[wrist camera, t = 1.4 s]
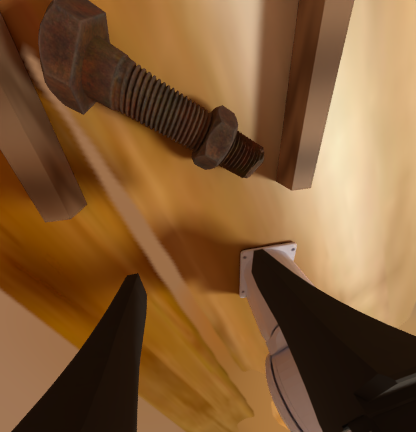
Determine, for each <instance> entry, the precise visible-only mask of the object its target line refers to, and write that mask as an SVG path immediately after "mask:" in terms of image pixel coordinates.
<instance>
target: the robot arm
mask: <svg viewBox="0 0 416 432" xmlns="http://www.w3.org/2000/svg"><path fill="white" fill-rule="evenodd" d="M296 248H297V244H296V243H295V242H291V243H285V244H279V245H273V246H267V247H261V248H254V249H248V250H243V251H242V252H241V254H240V287H239V295H240V297H241V298H244V297H247V300H248V302H249V305H250V307H251V310H252V312H253V315H254V317H255V320H256V322H257V325H258V327H259V330H260V332H261V334H262V336H263V338H264V339H265V340H266V345H267V347H268V350H269V352H270V353H269V354H268V355H267V357H266V363H265V366H266V378H267V383H268V386H269V390H270V393H271V396H272V399H273V401H274V403H275V406H276V408H277V410H278V412H279V414H280V416H281V418H282V419H283V421H284V423H285V424H286V426H287V427H288V428H289V430H290V431H291V432H416V336H414V335H411V334H409V333H406V332H404V331H402V330H399V329H397V328H394V327H392V326H390V325H387V324H385V323H383V322H381V321H378V320H376V319H374V318H372V317H370V316H368V315H365V314H363V313H361V312H359V311H357V310H355V309H353V308H351V307H349V306H347V305H346V304H344V303H342V302H340V301H338V300H336V299H334V298H333V297H331V296H329V295H327V294H326V293H324V292H322V291H321V290H319V289H317V288H316V287H315V286H314V285H313V284H312V282H311V281H310V280H309V279H308V278H307V277H306V275H305V274H304V273H303V272H302V271H301V269H300V268H299V267H298V266H297V265H296V264H295V262H294V256H295V252H296ZM244 256H245V257H244ZM146 309H147V294H146V291H145V289H144V286H143V284H142V281H141V279H140V276H139V274H138V273H137V274H132V275H127V277H126V278H125V280H124V282H123V283H122V285H121V287H120V289H119V291H118V292H117V294H116V296H115V297H114V299H113V301H112V302H111V304H110V306H109V307H108V309H107V311H106V312H105V314H104V315H103V317H102V319H101V320H100V322H99V323H98V325H97V326H96V328H95V329H94V331H93V332H92V334H91V335H90V336H89V338H88V339H87V341H86V342H85V343H84V345H83V346H82V348H81V349H80V350H79V352H78V353H77V354H76V356H75V357H74V358H73V360H72V361H71V362H70V363H69V365H68V366H67V367H66V368H65V370H64V371H63V372H62V373H61V375H60V376H59V377H58V378H57V380H56V381H55V382H54V384H53V385H52V386H51V387H50V388H49V389H48V391H47V392H46V393H45V394H44V395H43V396H42V398H41V399H40V400H39V401H38V402H37V403H36V404H35V406H34V407H33V408H32V409H31V410H30V411H29V412H28V413H27V415H26V416H25V417H24V418H23V419H22V420H21V421H20V423H19V424H18V425H17V426H16V427H15V428H14V429H13V430H12V431H11V432H137V404H138V382H139V365H140V356H141V349H142V341H143V334H144V327H145V319H146Z"/></svg>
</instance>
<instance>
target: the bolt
mask: <svg viewBox="0 0 416 432" xmlns="http://www.w3.org/2000/svg"><path fill="white" fill-rule="evenodd" d="M38 43H39V52H40V62H41V67H42V71H43V75H44V79H45V83H46V84H47V86H48V88H49V89H50V90H51V92H52V93H53V94H54V95H55V96H56V97H57V98H58V99H59V100H60V101H61V102H62V103H63V104H64V105H65V106H67V107H69V108H71V109H73V110H75V111H77V112H79V113H81V114H85V113H86V112H87V111H88V110H89V109H90V108H91V107H92V106H93V105H94V104H95V103H96V102H99V103H101V104H103V105H104V106H106V107H108V108H110V109H112V110H117V111H119V112H121V113H122V114H126V116H128V117H129V116H131V118H132V119H135V118H136V121H138V122H139V121H140V123H141V124H144V123H145V125H146V127H148V126H150V129H153V128H154V129H155V131H158V130H159V134H160V133H163V136H164V135H167V138H168V137H170V136H171V140H173V139H175V142H177V141H178V142H179V144H181V143H182V144H183V146H184V145H186V147H187V148H188V147H190V150H192V149H193V152H192V159H193V162H194V164H195V165H197V166H199V167H201V168H203V169H205V170H207V169H213V168H215V167H216V166H218V165H220V166H221V167H223V168H226V169H227V170H229V171H230V172H232V173H235V174H236V175H238V176H240V177H241V178H248V177H250V176H251V175H252V174H253V173H254V172H255V170H256V169H257V168H258V167H259V166H260V165H261V164H262V163H263V160H264V152H263V151H264V149H263V147H262V146H260V145H259V144H257V143H255V142H254V141H252V140H251V139H249V138H248V137H246V136H245V135H243V134H242V133H239V131H237V129H238V122H237V119H236V116H235V114H234V113H233V112H231V111H230V110H229V109H227V108H226V107H224V106H223V105H222V106H219V107H216V108H215V109H214V110H213V111H212V112H210V113H208V112H207V110H205V111H204V109H203V107H202V108H200V106H199V105H197V106H196V104H195V102H193V103H192V102H191V99H190V100H188V99H187V96H186V97H184V98H183V94H180V95H179V91H177V92H175V90H174V88H172V89H170V86H169V85H168V86H167V87H166V84H165V82H164V83H162V84H161V80H160V79H158V80H156V76H155V75H154V76H153V77H152V75H151V73H150V72H148V73H146V69H145V68H144V69H141V66H140V65H138V66H136V63H135V62H134V61H132V60H131V59H130V58H129V57H128V55H126V54H125V53H123V52H122V51H120V50H119V49H117V48H116V47H114V46H113V45H112V44H110V41H109V34H108V26H107V19H106V13H105V12H104V11H102V10H101V9H100V8H98V7H97V6H95V5H94V4H93V3H91V2H90V1H89V0H52V2H51V3H50V5H49V6H48V8H47V10H46V13H45V15H44V17H43V19H42V22H41V24H40V29H39V40H38Z"/></svg>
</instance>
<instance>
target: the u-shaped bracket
mask: <svg viewBox="0 0 416 432" xmlns="http://www.w3.org/2000/svg"><path fill="white" fill-rule="evenodd" d="M353 4H354V0H299V5H298V13H297V21H296V29H295V37H294V45H293V53H292V61H291V68H290V76H289V84H288V92H287V100H286V108H285V116H284V124H283V131H282V139H281V147H280V155H279V163H278V171H277V179H276V182H278V183H280V184H281V185H283V186H285V187H286V188H288V189H290V190H300V189H308V188H311V185H312V181H313V176H314V172H315V168H316V163H317V159H318V155H319V150H320V146H321V142H322V137H323V133H324V129H325V124H326V120H327V116H328V112H329V107H330V103H331V99H332V94H333V90H334V86H335V81H336V77H337V73H338V68H339V64H340V60H341V55H342V51H343V47H344V43H345V38H346V34H347V30H348V25H349V21H350V17H351V12H352V8H353ZM0 150H1V151H2V153H3V154H4V156H5V158H6V159H7V161H8V163H9V164H10V166H11V167H12V169H13V171H14V172H15V174H16V176H17V177H18V179H19V180H20V182H21V184H22V185H23V187H24V189H25V190H26V192H27V193H28V195H29V197H30V198H31V200H32V201H33V203H34V205H35V206H36V208H37V210H38V211H39V213H40V214H41V216H42V218H43V219H44V221H45V222H52V221H59V220H67V219H72V218H73V217H74V216H75V215H76V214H77V213H78V212H79V211H80V210H82V209H83V208H84V207H85V206H86V205H87V203H86V201H85V199H84V196H83V194H82V192H81V190H80V188H79V185H78V183H77V181H76V179H75V177H74V174H73V172H72V170H71V168H70V165H69V163H68V161H67V159H66V157H65V154H64V152H63V150H62V148H61V146H60V143H59V141H58V139H57V137H56V134H55V132H54V130H53V128H52V126H51V123H50V121H49V119H48V117H47V115H46V112H45V110H44V108H43V106H42V103H41V101H40V99H39V97H38V95H37V92H36V90H35V88H34V86H33V84H32V81H31V79H30V77H29V75H28V72H27V70H26V68H25V66H24V64H23V61H22V59H21V57H20V55H19V53H18V50H17V48H16V46H15V44H14V42H13V39H12V37H11V35H10V33H9V30H8V28H7V26H6V24H5V22H4V19H3V17H2V15H1V13H0Z"/></svg>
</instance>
